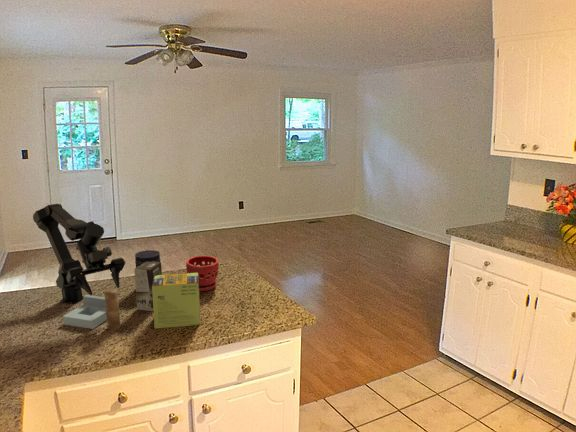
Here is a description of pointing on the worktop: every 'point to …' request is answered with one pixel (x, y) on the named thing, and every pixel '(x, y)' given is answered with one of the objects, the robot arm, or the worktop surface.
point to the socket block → (87, 313)
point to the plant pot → (204, 271)
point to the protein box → (176, 300)
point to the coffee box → (146, 284)
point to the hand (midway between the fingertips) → (105, 290)
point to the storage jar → (146, 257)
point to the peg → (112, 309)
